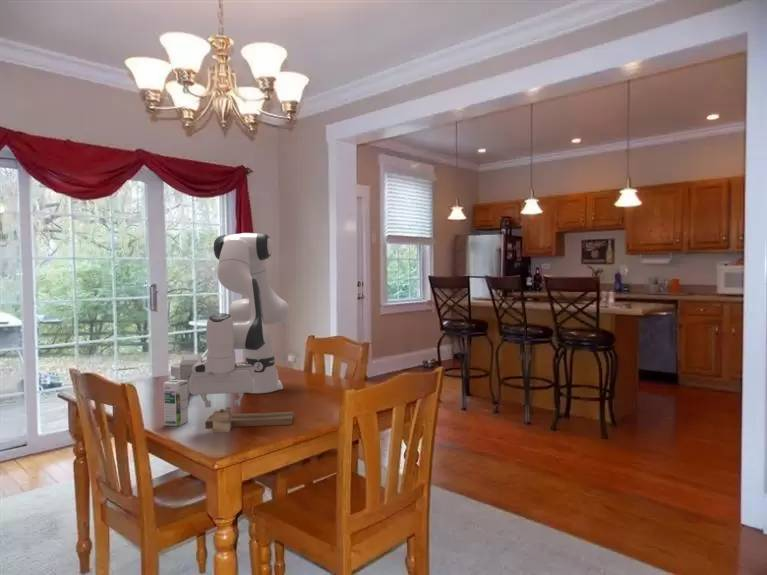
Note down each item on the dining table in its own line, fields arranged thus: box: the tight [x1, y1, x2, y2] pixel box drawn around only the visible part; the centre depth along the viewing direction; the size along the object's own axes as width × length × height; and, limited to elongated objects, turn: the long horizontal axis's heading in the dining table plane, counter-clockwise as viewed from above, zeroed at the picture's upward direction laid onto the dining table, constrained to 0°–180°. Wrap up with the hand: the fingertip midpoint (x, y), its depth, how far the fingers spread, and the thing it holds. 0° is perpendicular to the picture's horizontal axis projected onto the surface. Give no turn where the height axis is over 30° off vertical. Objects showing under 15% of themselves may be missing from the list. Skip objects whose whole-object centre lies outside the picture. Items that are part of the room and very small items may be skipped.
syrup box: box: [162, 379, 189, 427], centre depth 176 cm, size 6×6×14 cm
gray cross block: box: [170, 361, 181, 380], centre depth 241 cm, size 15×15×8 cm
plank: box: [205, 411, 295, 429], centre depth 176 cm, size 8×28×2 cm, turn 95°
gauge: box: [212, 406, 232, 433], centre depth 173 cm, size 12×5×7 cm, turn 5°
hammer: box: [179, 353, 203, 401], centre depth 208 cm, size 15×8×30 cm
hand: (222, 406), depth 169 cm, fingers open, 8 cm apart
